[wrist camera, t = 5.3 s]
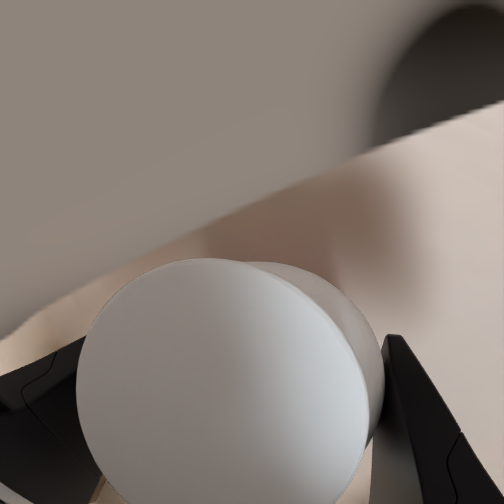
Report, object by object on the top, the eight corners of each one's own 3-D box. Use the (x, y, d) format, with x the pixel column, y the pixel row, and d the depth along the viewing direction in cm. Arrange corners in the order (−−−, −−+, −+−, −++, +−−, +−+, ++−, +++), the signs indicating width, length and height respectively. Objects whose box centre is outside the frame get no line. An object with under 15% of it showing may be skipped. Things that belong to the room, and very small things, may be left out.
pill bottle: (204, 381, 15) (16, 415, 5) (268, 277, 16) (151, 152, 5) (309, 448, 13) (258, 614, 2) (379, 340, 13) (500, 332, 3)
